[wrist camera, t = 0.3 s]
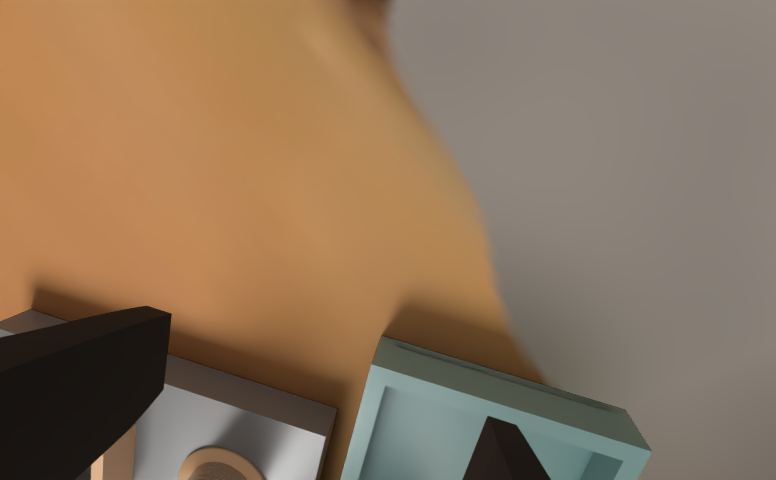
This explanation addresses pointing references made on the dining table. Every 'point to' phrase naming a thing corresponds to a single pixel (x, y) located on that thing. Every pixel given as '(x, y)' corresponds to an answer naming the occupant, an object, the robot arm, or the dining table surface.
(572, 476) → the trough
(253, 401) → the battery checker
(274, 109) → the dining table surface
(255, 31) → the dining table surface
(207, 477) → the steel cell
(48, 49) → the dining table surface
